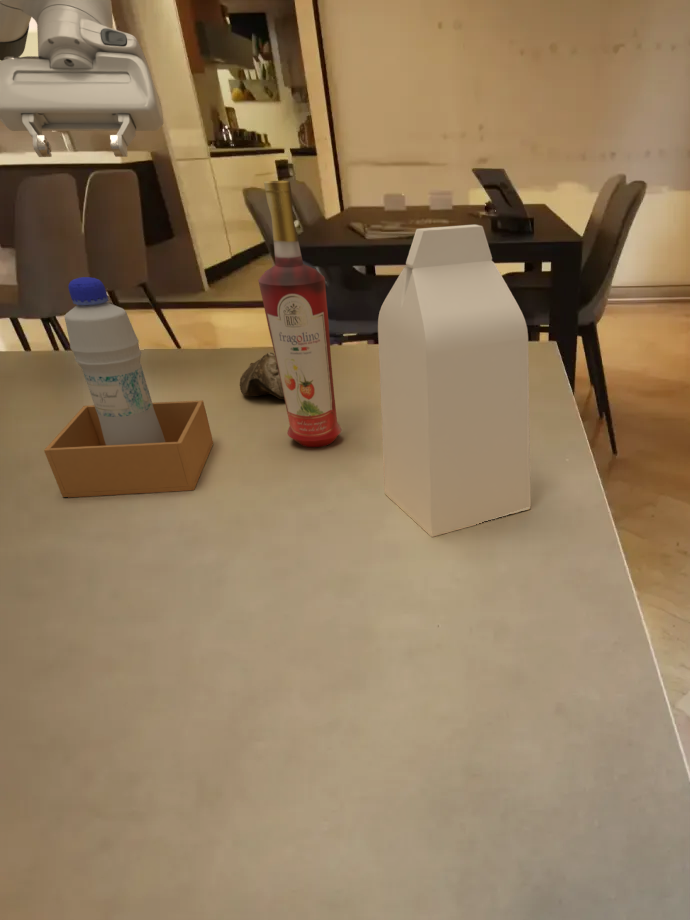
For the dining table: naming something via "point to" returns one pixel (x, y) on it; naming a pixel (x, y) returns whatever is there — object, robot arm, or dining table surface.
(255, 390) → the fossilized seashell
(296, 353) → the liquor
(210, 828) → the dining table surface
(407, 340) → the milk
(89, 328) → the bottle
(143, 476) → the shallow wooden crate
